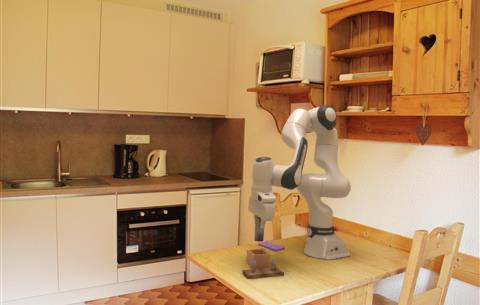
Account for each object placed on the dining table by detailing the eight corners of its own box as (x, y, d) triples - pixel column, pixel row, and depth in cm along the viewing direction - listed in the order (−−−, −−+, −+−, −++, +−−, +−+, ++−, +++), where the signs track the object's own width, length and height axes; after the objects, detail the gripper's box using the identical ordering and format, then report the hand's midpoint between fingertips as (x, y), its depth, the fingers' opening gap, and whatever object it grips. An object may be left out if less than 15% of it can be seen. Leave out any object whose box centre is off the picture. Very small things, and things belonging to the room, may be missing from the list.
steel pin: (261, 238, 177) (262, 216, 176) (264, 241, 173) (266, 218, 172) (252, 239, 175) (254, 216, 175) (256, 241, 172) (257, 218, 171)
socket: (261, 261, 180) (262, 248, 179) (269, 267, 173) (269, 254, 172) (246, 263, 177) (246, 249, 177) (252, 269, 170) (253, 255, 170)
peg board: (277, 270, 170) (278, 256, 170) (283, 275, 164) (284, 261, 164) (242, 273, 164) (243, 259, 164) (247, 279, 159) (248, 264, 158)
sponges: (267, 244, 209) (267, 240, 209) (285, 250, 200) (285, 246, 200) (257, 246, 205) (257, 242, 204) (275, 253, 195) (276, 249, 195)
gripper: (245, 190, 181) (244, 221, 182) (264, 199, 162) (262, 232, 163) (258, 190, 184) (256, 220, 184) (278, 199, 165) (276, 232, 165)
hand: (259, 226), depth 174 cm, fingers closed on steel pin, 4 cm apart
